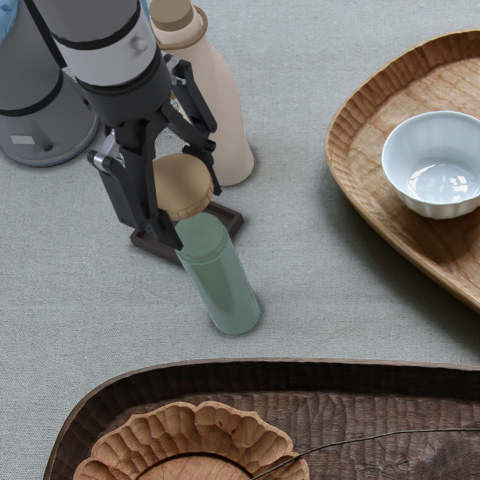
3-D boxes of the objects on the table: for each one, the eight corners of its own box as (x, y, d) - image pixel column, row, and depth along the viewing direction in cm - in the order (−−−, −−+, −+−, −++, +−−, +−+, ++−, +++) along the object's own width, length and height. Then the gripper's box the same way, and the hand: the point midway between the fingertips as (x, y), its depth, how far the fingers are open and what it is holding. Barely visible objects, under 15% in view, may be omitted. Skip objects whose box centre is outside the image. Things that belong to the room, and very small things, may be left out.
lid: (188, 231, 83) (183, 221, 82) (130, 204, 85) (124, 193, 83) (227, 179, 86) (223, 168, 84) (171, 154, 87) (166, 142, 86)
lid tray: (134, 245, 115) (128, 237, 113) (173, 191, 118) (169, 182, 116) (206, 277, 112) (202, 269, 110) (244, 221, 115) (241, 213, 113)
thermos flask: (210, 334, 108) (165, 257, 91) (216, 293, 111) (173, 210, 93) (257, 335, 108) (222, 257, 91) (262, 293, 111) (228, 210, 93)
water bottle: (247, 201, 117) (192, 49, 91) (188, 192, 118) (117, 40, 92) (266, 144, 120) (218, -17, 94) (208, 137, 121) (146, -25, 96)
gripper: (81, 160, 64) (169, 301, 85) (215, -10, 71) (266, 161, 92) (6, 128, 66) (111, 275, 87) (144, -36, 72) (211, 138, 93)
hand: (191, 216), depth 89 cm, fingers closed on lid, 7 cm apart
